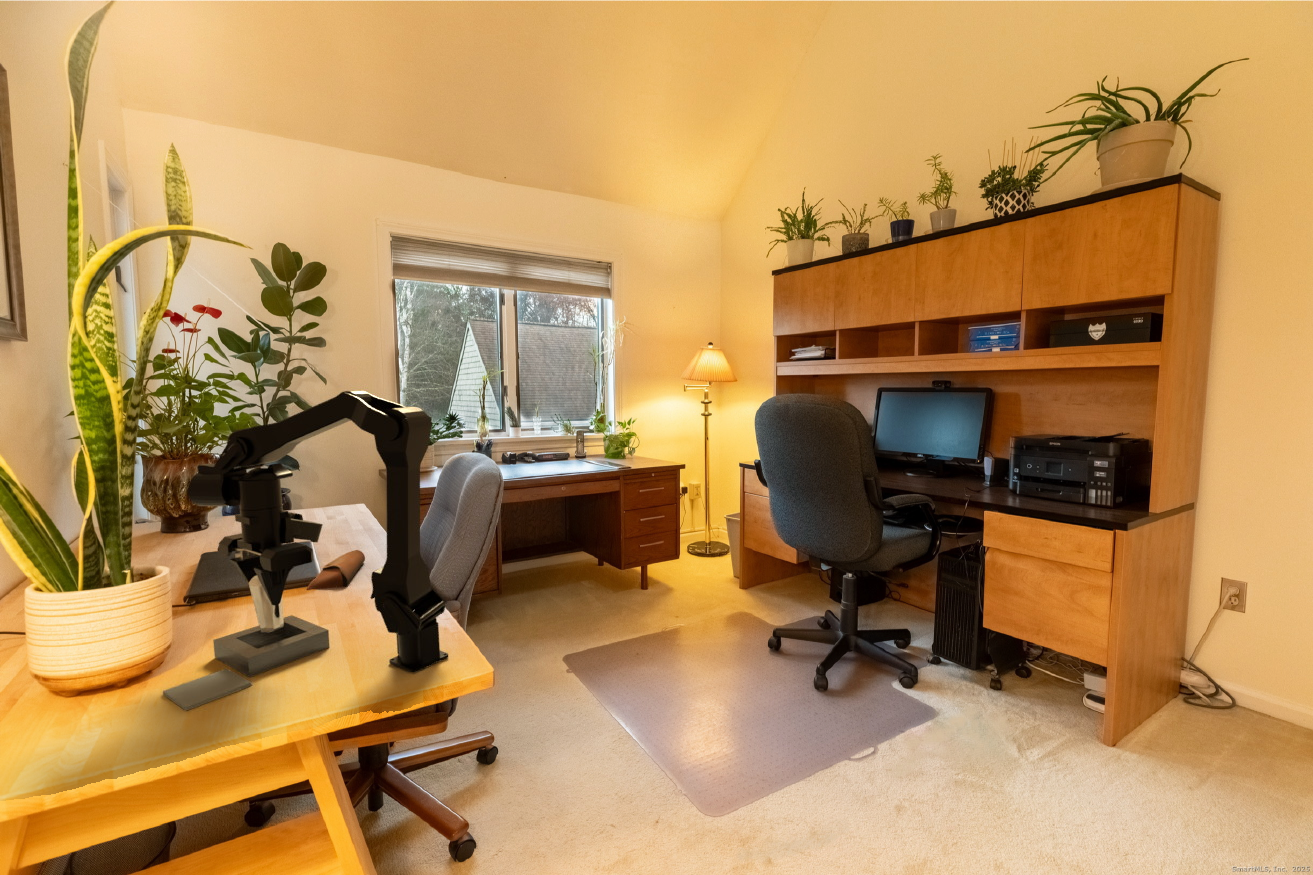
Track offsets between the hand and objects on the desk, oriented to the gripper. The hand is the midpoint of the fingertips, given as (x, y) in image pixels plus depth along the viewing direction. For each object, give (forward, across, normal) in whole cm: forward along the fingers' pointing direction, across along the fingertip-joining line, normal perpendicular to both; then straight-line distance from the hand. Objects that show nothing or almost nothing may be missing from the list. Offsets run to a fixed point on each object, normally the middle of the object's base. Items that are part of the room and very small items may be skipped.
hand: (269, 601), depth 99 cm
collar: (+8, 0, 0) cm, 8 cm away
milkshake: (+5, -1, 0) cm, 5 cm away
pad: (+8, -5, +11) cm, 15 cm away
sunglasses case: (+9, +30, -27) cm, 42 cm away
